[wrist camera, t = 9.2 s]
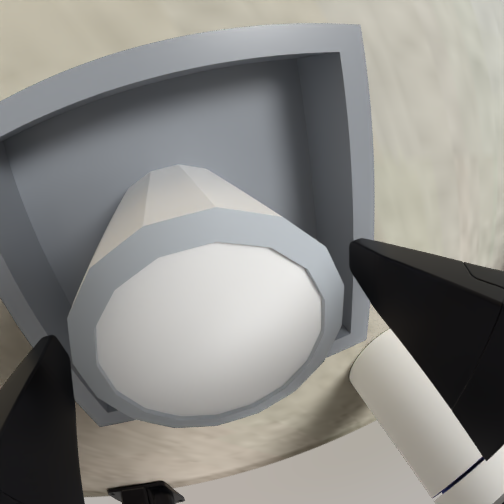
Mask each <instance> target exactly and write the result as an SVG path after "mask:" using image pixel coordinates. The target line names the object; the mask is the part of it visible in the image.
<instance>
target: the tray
mask: <svg viewBox="0 0 504 504" xmlns="http://www.w3.org/2000/svg"><path fill="white" fill-rule="evenodd" d="M178 164H179V165H186V166H192V167H199V168H205V169H208V170H209V171H211V172H212V173H214V174H216V175H217V176H219V177H221V178H222V179H224V180H225V181H227V182H229V183H230V184H232V185H233V186H235V187H237V188H238V189H240V190H241V191H243V192H245V193H246V194H248V195H249V196H251V197H252V198H254V199H256V200H257V201H259V202H260V203H262V204H263V205H265V206H266V207H268V208H270V209H271V210H273V211H274V212H276V213H277V214H279V215H280V216H282V217H283V218H285V219H286V220H288V221H289V222H291V223H292V224H294V225H295V226H297V227H298V228H300V229H301V230H302V231H304V232H305V233H307V234H308V235H310V236H311V237H313V238H314V239H316V240H317V241H318V242H320V243H321V244H323V245H324V246H326V248H327V250H328V252H329V254H330V256H331V258H332V260H333V262H334V265H335V267H336V269H337V271H338V273H339V275H340V277H341V280H342V282H343V284H344V300H343V316H342V326H341V328H340V330H339V332H338V334H337V336H336V338H335V340H334V342H333V344H332V346H331V348H330V350H329V352H328V354H327V356H326V358H327V357H329V356H331V355H334V354H336V353H338V352H340V351H343V350H345V349H347V348H349V347H352V346H354V345H356V344H358V343H360V342H362V341H364V340H366V338H367V329H368V320H369V309H370V301H369V299H368V298H367V296H366V295H365V293H364V291H363V290H362V288H361V287H360V285H359V284H358V282H357V281H356V279H355V278H354V276H353V274H352V273H351V271H350V268H349V244H350V242H351V241H354V240H357V239H359V238H365V239H370V240H374V155H373V134H372V119H371V106H370V95H369V85H368V76H367V68H366V60H365V52H364V45H363V39H362V32H361V26H360V25H355V24H332V23H297V24H274V25H260V26H249V27H239V28H231V29H223V30H216V31H209V32H203V33H197V34H192V35H186V36H181V37H176V38H172V39H167V40H163V41H158V42H154V43H150V44H146V45H142V46H139V47H135V48H131V49H128V50H124V51H121V52H118V53H114V54H111V55H108V56H105V57H102V58H99V59H96V60H93V61H90V62H87V63H85V64H82V65H79V66H77V67H74V68H71V69H69V70H66V71H64V72H61V73H59V74H56V75H54V76H52V77H49V78H47V79H45V80H43V81H40V82H38V83H36V84H34V85H32V86H30V87H27V88H25V89H23V90H21V91H19V92H17V93H15V94H13V95H11V96H10V97H8V98H6V99H4V100H2V101H0V298H1V300H2V301H3V303H4V305H5V306H6V308H7V310H8V311H9V313H10V314H11V316H12V318H13V319H14V321H15V322H16V324H17V325H18V327H19V328H20V330H21V331H22V333H23V334H24V336H25V337H26V339H27V340H28V341H29V343H30V344H31V346H32V347H34V346H35V345H36V344H37V343H38V341H39V340H40V339H41V338H42V337H44V336H48V335H55V336H56V337H57V338H58V340H59V341H60V343H61V344H62V346H63V347H64V349H65V350H66V352H67V353H68V355H69V357H70V361H71V372H72V382H73V391H74V399H75V401H76V402H77V403H78V404H79V405H80V406H81V408H82V409H83V410H84V411H85V412H86V413H87V414H88V415H89V416H90V417H91V418H92V419H93V420H94V421H95V422H96V423H97V425H98V426H99V427H103V426H108V425H113V424H118V423H123V422H128V421H132V420H136V419H133V418H131V417H129V416H127V415H126V414H124V413H122V412H120V411H119V410H117V409H115V408H114V407H112V406H110V405H109V404H107V403H105V402H104V401H102V400H101V399H99V398H98V397H97V396H96V395H95V394H94V392H93V391H92V390H91V388H90V387H89V386H88V384H87V383H86V382H85V380H84V379H83V377H82V376H81V375H80V373H79V372H78V370H77V369H76V367H75V366H74V365H73V362H72V355H71V348H70V340H69V332H68V322H67V318H68V315H69V312H70V310H71V307H72V305H73V302H74V300H75V297H76V295H77V292H78V290H79V288H80V285H81V283H82V280H83V278H84V276H85V274H86V271H87V269H88V267H89V264H90V262H91V260H92V258H93V256H94V254H95V251H96V249H97V247H98V245H99V243H100V241H101V239H102V237H103V235H104V233H105V231H106V228H107V226H108V224H109V222H110V221H111V219H112V217H113V215H114V213H115V211H116V209H117V207H118V205H119V204H120V202H121V200H122V198H123V197H124V195H125V193H126V191H127V190H128V188H130V187H131V186H132V185H133V184H135V183H136V182H137V181H139V180H140V179H141V178H143V177H144V176H145V175H147V174H148V173H149V172H151V171H155V170H158V169H162V168H166V167H170V166H174V165H178Z"/></svg>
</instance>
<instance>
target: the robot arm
mask: <svg viewBox="0 0 504 504" xmlns="http://www.w3.org/2000/svg"><path fill="white" fill-rule="evenodd" d="M349 268H350V271H351V273H352V274H353V276H354V278H355V279H356V281H357V282H358V284H359V285H360V287H361V288H362V290H363V291H364V293H365V295H366V296H367V298H368V299H369V301H370V302H371V304H372V305H373V307H374V308H375V310H376V311H377V312H378V314H379V315H380V316H381V317H382V319H383V320H384V321H385V322H386V324H387V325H388V326H389V327H390V329H391V330H392V331H393V333H394V334H395V335H396V336H397V338H398V339H399V340H400V342H401V343H402V344H403V345H404V347H405V348H406V349H407V351H408V352H409V353H410V355H411V356H412V357H413V358H414V360H415V361H416V362H417V364H418V365H419V366H420V368H421V369H422V370H423V372H424V373H425V374H426V376H427V377H428V379H429V380H430V381H431V383H432V384H433V385H434V387H435V388H436V389H437V391H438V392H439V394H440V395H441V396H442V398H443V399H444V401H445V402H446V403H447V405H448V406H449V408H450V409H451V410H452V412H453V414H454V415H455V416H456V418H457V419H458V421H459V422H460V424H461V425H462V427H463V428H464V429H465V431H466V432H467V434H468V435H469V437H470V438H471V440H472V441H473V443H474V444H475V446H476V447H477V449H478V450H479V452H480V453H481V455H482V456H483V458H484V459H485V460H486V461H488V460H489V459H490V458H491V457H492V456H493V455H494V454H495V453H496V452H497V451H498V450H499V449H500V448H501V447H502V446H503V445H504V271H500V270H495V269H491V268H486V267H482V266H478V265H474V264H470V263H466V262H464V263H463V262H462V261H458V260H454V259H450V258H446V257H442V256H438V255H434V254H430V253H426V252H421V251H417V250H413V249H409V248H405V247H400V246H396V245H392V244H387V243H383V242H379V241H374V240H370V239H365V238H359V239H357V240H354V241H351V242H350V244H349ZM108 495H110V496H112V497H113V498H115V499H117V500H119V501H121V502H122V504H176V503H178V502H183V501H185V499H184V497H183V496H182V495H180V494H179V493H178V492H176V491H175V490H174V489H172V488H171V487H170V486H169V485H167V484H166V483H164V482H156V483H151V484H145V485H139V486H132V487H125V488H118V489H109V490H108ZM0 504H85V503H84V496H83V490H82V483H81V475H80V467H79V457H78V446H77V432H76V412H75V399H74V391H73V382H72V372H71V361H70V357H69V355H68V353H67V352H66V350H65V349H64V347H63V346H62V344H61V343H60V341H59V340H58V338H57V337H56V336H55V335H48V336H44V337H42V338H41V339H40V340H39V341H38V343H37V344H36V345H35V346H34V347H33V349H32V350H31V351H30V352H29V353H28V355H27V356H26V357H25V358H24V360H23V361H22V362H21V363H20V365H19V366H18V367H17V368H16V370H15V371H14V372H13V374H12V375H11V376H10V377H9V379H8V380H7V381H6V383H5V384H4V385H3V387H2V388H1V389H0ZM493 504H504V493H503V494H502V495H501V496H500V497H499V498H498V499H497V500H496V501H495V502H494V503H493Z"/></svg>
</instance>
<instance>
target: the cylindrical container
mask: <svg viewBox="0 0 504 504" xmlns="http://www.w3.org/2000/svg"><path fill="white" fill-rule="evenodd" d="M349 377H350V382H351V383H352V385H353V386H354V388H355V389H356V391H357V392H358V393H359V395H360V396H361V398H362V399H363V401H364V402H365V403H366V405H367V406H368V408H369V409H370V411H371V412H372V413H373V415H374V416H375V418H376V419H377V421H378V422H379V423H380V425H381V426H382V428H383V429H384V430H385V432H386V433H387V435H388V436H389V438H390V439H391V440H392V442H393V443H394V445H395V446H396V448H397V449H398V451H399V452H400V453H401V455H402V456H403V458H404V459H405V460H406V462H407V463H408V465H409V466H410V468H411V469H412V470H413V472H414V473H415V475H416V476H417V478H418V479H419V480H420V482H421V483H422V485H423V486H424V487H425V489H426V490H427V492H428V493H429V495H430V496H431V498H434V497H435V496H437V495H438V494H439V493H441V492H442V493H443V495H441V496H440V497H439V498H437V499H436V500H435V501H434V502H435V503H436V504H493V503H494V502H495V501H496V500H497V499H498V498H499V497H500V496H501V495H502V494H503V493H504V445H503V446H502V447H501V448H500V449H499V450H498V451H497V452H496V453H495V454H494V455H493V456H492V457H491V458H490V459H489V460H488V461H486V460H485V459H484V458H483V456H482V455H481V453H480V452H479V450H478V449H477V447H476V446H475V444H474V443H473V441H472V440H471V438H470V437H469V435H468V434H467V432H466V431H465V429H464V428H463V427H462V425H461V424H460V422H459V421H458V419H457V418H456V416H455V415H454V414H453V412H452V410H451V409H450V408H449V406H448V405H447V403H446V402H445V401H444V399H443V398H442V396H441V395H440V394H439V392H438V391H437V389H436V388H435V387H434V385H433V384H432V383H431V381H430V380H429V379H428V377H427V376H426V374H425V373H424V372H423V370H422V369H421V368H420V366H419V365H418V364H417V362H416V361H415V360H414V358H413V357H412V356H411V355H410V353H409V352H408V351H407V349H406V348H405V347H404V345H403V344H402V343H401V342H400V340H399V339H398V338H397V336H396V335H395V334H394V333H393V331H392V330H391V329H388V330H387V331H385V332H383V333H382V334H380V335H379V336H378V337H376V338H375V339H374V340H373V341H372V342H371V343H370V344H369V345H367V347H366V348H365V349H364V350H363V351H362V352H361V353H360V355H359V356H358V357H357V359H356V360H355V362H354V364H353V366H352V368H351V371H350V376H349Z"/></svg>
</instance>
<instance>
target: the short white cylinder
mask: <svg viewBox="0 0 504 504" xmlns="http://www.w3.org/2000/svg"><path fill="white" fill-rule="evenodd" d="M343 300H344V284H343V282H342V280H341V277H340V275H339V273H338V271H337V269H336V267H335V265H334V262H333V260H332V258H331V256H330V254H329V252H328V250H327V248H326V246H324V245H323V244H321V243H320V242H318V241H317V240H316V239H314V238H313V237H311V236H310V235H308V234H307V233H305V232H304V231H302V230H301V229H300V228H298V227H297V226H295V225H294V224H292V223H291V222H289V221H288V220H286V219H285V218H283V217H282V216H280V215H279V214H277V213H276V212H274V211H273V210H271V209H270V208H268V207H266V206H265V205H263V204H262V203H260V202H259V201H257V200H256V199H254V198H252V197H251V196H249V195H248V194H246V193H245V192H243V191H241V190H240V189H238V188H237V187H235V186H233V185H232V184H230V183H229V182H227V181H225V180H224V179H222V178H221V177H219V176H217V175H216V174H214V173H212V172H211V171H209V170H208V169H205V168H199V167H192V166H186V165H179V164H178V165H174V166H170V167H166V168H162V169H158V170H155V171H151V172H149V173H148V174H147V175H145V176H144V177H143V178H141V179H140V180H139V181H137V182H136V183H135V184H133V185H132V186H131V187H130V188H128V190H127V191H126V193H125V195H124V197H123V198H122V200H121V202H120V204H119V205H118V207H117V209H116V211H115V213H114V215H113V217H112V219H111V221H110V222H109V224H108V226H107V228H106V231H105V233H104V235H103V237H102V239H101V241H100V243H99V245H98V247H97V249H96V251H95V254H94V256H93V258H92V260H91V262H90V264H89V267H88V269H87V271H86V274H85V276H84V278H83V280H82V283H81V285H80V288H79V290H78V292H77V295H76V297H75V300H74V302H73V305H72V307H71V310H70V312H69V315H68V318H67V322H68V332H69V340H70V348H71V355H72V362H73V365H74V366H75V367H76V369H77V370H78V372H79V373H80V375H81V376H82V377H83V379H84V380H85V382H86V383H87V384H88V386H89V387H90V388H91V390H92V391H93V392H94V394H95V395H96V396H97V397H98V398H99V399H101V400H102V401H104V402H105V403H107V404H109V405H110V406H112V407H114V408H115V409H117V410H119V411H120V412H122V413H124V414H126V415H127V416H129V417H131V418H133V419H136V420H140V421H145V422H149V423H153V424H158V425H163V426H167V427H172V428H185V427H204V426H218V425H221V424H225V423H228V422H231V421H235V420H238V419H241V418H244V417H248V416H251V415H254V414H257V413H259V412H261V411H263V410H264V409H266V408H268V407H270V406H271V405H273V404H275V403H276V402H278V401H280V400H281V399H283V398H285V397H286V396H288V395H290V394H291V393H293V392H294V391H296V390H297V389H298V388H299V387H300V386H301V385H302V384H303V383H304V382H305V381H306V380H307V378H308V377H309V376H310V375H311V374H312V373H313V372H314V371H315V370H316V369H317V368H318V367H319V366H320V365H321V364H322V363H323V362H324V360H325V358H326V356H327V354H328V352H329V350H330V348H331V346H332V344H333V342H334V340H335V338H336V336H337V334H338V332H339V330H340V328H341V326H342V316H343Z"/></svg>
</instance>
